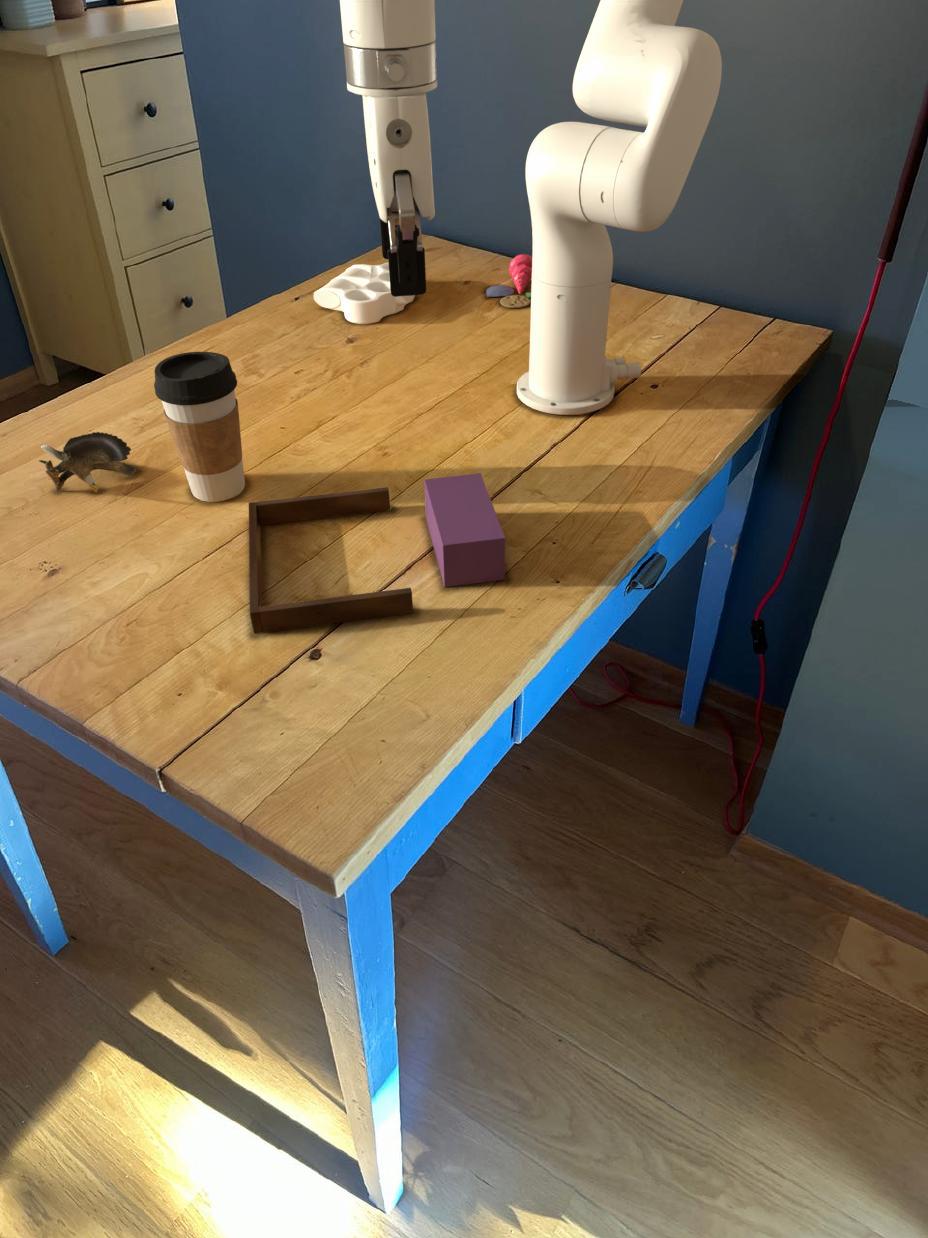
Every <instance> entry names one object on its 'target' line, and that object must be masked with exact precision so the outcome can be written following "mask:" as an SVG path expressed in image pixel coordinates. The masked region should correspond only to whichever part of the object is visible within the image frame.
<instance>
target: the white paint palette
mask: <svg viewBox="0 0 928 1238" xmlns="http://www.w3.org/2000/svg"><path fill="white" fill-rule="evenodd" d="M415 297H416V295H412V296H398V297H394V296H392V294H391V291H390V277H389V262H384V263H382V264H367V263H366V264H365V263H360V264H359V263H358V264H353V265H351V266H349V267H348V268H346V269H345V271H343V272H342V273H341V274H339V275H337V276H336V277H334V278H332V279H331V280H330V281H329V282H328V283H327V284H325V285H324V286H322V287H321V288H319V289H317V290H315V291H314V292H313V300H314V302H315V303H316V304H317V305H318V306H320V307H322V308H324V309H329V310H332V311H337V312H343V313H344V318H345V319H346V320H347V321H348V322H350V323H352V324H359V325H369V324H375V323H379V322H380V321H381V320H382V319H383V318H384V317H386V316H390V315H393V314H395V315H396V314H397V313H399V312H401V311H404V309H405V306H406V305H407V304H410V303H413V301H414V299H415Z"/></svg>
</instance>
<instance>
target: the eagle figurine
mask: <svg viewBox="0 0 928 1238" xmlns="http://www.w3.org/2000/svg"><path fill="white" fill-rule="evenodd" d="M40 448H41V449H42V450H43V451H44V452H45V453H46V454H48V455H50V456H51V457H53V458H55V459H56V460H59V461H61V462H59V464H57V465H55V466H54V465H53V461H52V460H47V461H46V460H43V459H39V460H38V462H40V463H42V464H43V465H45V468H46V470H45V474H46V476H48V477H49V478H50V480H51V481H52V483H53V484H54V486H55V491H56V492H59V491H61V490H62V488H63V487H64V485H65V483H66V481H67V480H68V479H70V478H71V477H73V476H76V477H77V478H78V479H80V480H81V481H83V482H84V483H86V484H87V485H88V486H89V487H90V488H91V489H92V490H93V492H94V493H98V490H99V489H98V485H97V481H96V479H95V478H94V477H93V475H92V473H91V472H93V471H95V470H103V471H108V472H114V473H118V474H122V475H125V476H131V475H134V474H135V473H136V472H137V470H136V468H135V467H133V466H132V465H131V464H126V463H125V462H124V461H126V460H128V456H130V454H131V451H132V448H131V447H129V446H128V443H127V442H126V441H124V440H123V439H122V438H119V437H118V435H113V434H112V433H108V432H102V431H101V432H100V431H96V432H95V431H94V432H91V433H86V434H81V435H78V436H74V437H71V438H69V439H68V440H67V441H66V443H65V444H64V446H63V447H62V450H57V449H55V448H54V447H52V446H50V445H48V444H44V445H41V446H40Z"/></svg>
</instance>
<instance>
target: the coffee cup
mask: <svg viewBox="0 0 928 1238" xmlns="http://www.w3.org/2000/svg"><path fill="white" fill-rule="evenodd" d="M237 386H238V379H237V375H236V373H235V372H234V371H233V368H232V365H231V362H230V358H229V357H228V356H227V355H225V354H222V353H219V352H213V351H188V352H181V353H179V354H178V353H177V354H174V355H172V356H168V357H166V358H164V359H163V360H161V361H160V362H158V364H156V366H155V367H154V383H153V387H154V392H155V393H154V394H155V396H156V398H157V399H159V400H160V401H161V403H162V406H163V415H164V418H165V421H166V423H167V427H168V429H169V431H170V435H171V438H172V440H173V443H174V446H175V448H176V452H177V454H178V457H179V460H180V463H181V466H182V467H183V470H184V473H185V476H186V479H187V482H188V485H189V488H190V491H191V494H192V495H193V497H195V498H196V499H198V500H199V501H203V502H207V503H217V502H223V501H228V500H230V499H233V498H235V497H238V495H240V494H242V492H243V490H244V489H245V486H246V480H245V471H244V462H243V447H242V436H241V424H240V412H239V402H238V399H237V397H236V392H235V391H236V388H237Z"/></svg>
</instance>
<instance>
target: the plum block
mask: <svg viewBox="0 0 928 1238" xmlns="http://www.w3.org/2000/svg"><path fill="white" fill-rule="evenodd" d="M423 487H424V503H425V504H424V505H425V520H426V524H427V528H428V531H429V536H430V539H431V542H432V546H433V550H434V554H435V558H436V562H437V565H438V569H439V573H440V576H441V580H442V583H443V587H444V588H449V587H456V586H465V585H466V586H467V585H472V584H480V583H488V582H497V581H504V580H505V578H506V536H505V534H504V531H503V528H502V525H501V523H500V521H499V518H498V515H497V512H496V509H495V506H494V504H493V502H492V499H491V496H490V494H489V491H488V488H487V486H486V483H485V480H484V478H483V475H482V473H481V472H478V473H469V474H460V475H450V476H441V477H432V478H424V479H423Z"/></svg>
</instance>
